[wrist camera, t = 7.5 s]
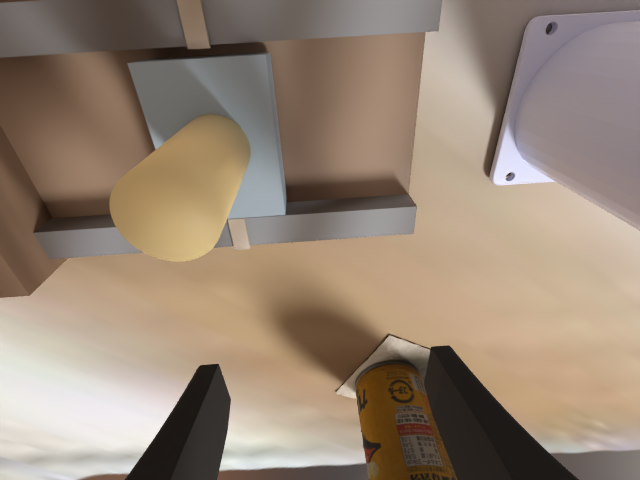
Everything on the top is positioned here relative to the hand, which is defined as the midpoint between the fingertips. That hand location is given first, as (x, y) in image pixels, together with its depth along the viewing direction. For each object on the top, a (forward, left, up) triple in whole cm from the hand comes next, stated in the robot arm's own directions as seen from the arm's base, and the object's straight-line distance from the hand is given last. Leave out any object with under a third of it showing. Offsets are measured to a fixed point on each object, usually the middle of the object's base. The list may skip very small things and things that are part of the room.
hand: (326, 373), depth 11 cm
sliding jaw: (+4, -6, -9) cm, 11 cm away
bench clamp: (+6, -6, -10) cm, 13 cm away
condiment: (-6, +16, -11) cm, 20 cm away
